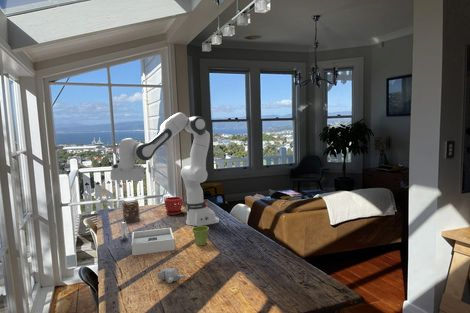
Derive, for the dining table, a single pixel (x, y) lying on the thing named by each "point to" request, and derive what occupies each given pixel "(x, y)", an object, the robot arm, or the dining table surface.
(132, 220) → the jar
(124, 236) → the peg
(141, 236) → the box
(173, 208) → the plant pot
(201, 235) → the plant pot
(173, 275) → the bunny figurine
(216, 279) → the dining table surface
